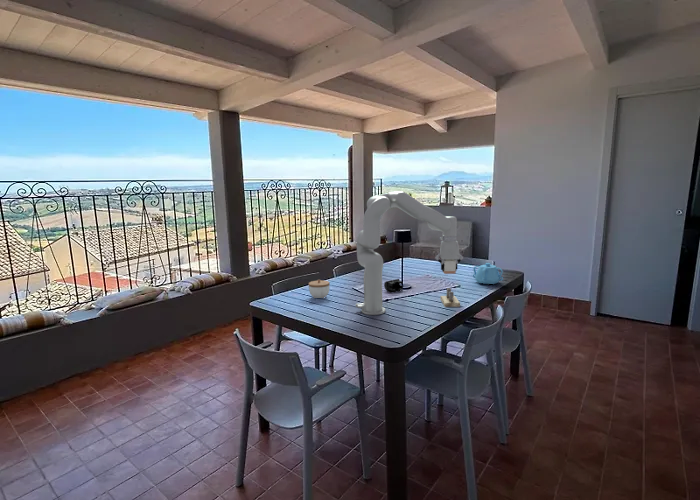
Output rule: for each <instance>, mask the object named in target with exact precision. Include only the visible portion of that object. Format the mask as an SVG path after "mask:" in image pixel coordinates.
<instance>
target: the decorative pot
mask: <svg viewBox="0 0 700 500" xmlns="http://www.w3.org/2000/svg"><path fill="white" fill-rule="evenodd" d="M476 268H477V270H476ZM499 270H500V271H499ZM503 273H504V271H503V269H502V268H501V267H497V266H496V265H494V264H492V263H490V262H485V264H482V265H475V266H474V267H473V274H472V278H474V280H475V281H476V282H477V283H478V284H479V283H483V285H484V284H485V285H489V284H493V285H495V284H497V283H499V282H500V281H503V280H504V277H502V275H503Z"/></svg>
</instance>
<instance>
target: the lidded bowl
mask: <svg viewBox="0 0 700 500" xmlns="http://www.w3.org/2000/svg"><path fill="white" fill-rule="evenodd" d="M330 283H331V282H330V281H328V280H321V279H317V280H311V281H310V282H308V289H309V294H310V295H311V296H312V297H313V299H315V298H323V299H325V298H327V296H329V295H328V294H329V292H330ZM324 297H325V298H324Z"/></svg>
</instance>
